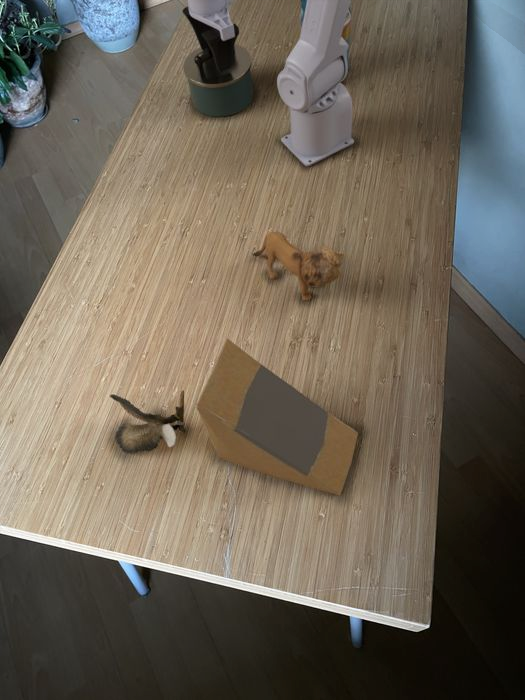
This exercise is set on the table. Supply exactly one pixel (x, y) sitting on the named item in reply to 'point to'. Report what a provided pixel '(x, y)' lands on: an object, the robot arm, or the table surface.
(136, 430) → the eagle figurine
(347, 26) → the beverage bottle
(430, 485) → the table surface
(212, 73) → the green lidded pot
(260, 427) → the sandwich container
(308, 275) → the lion figurine
